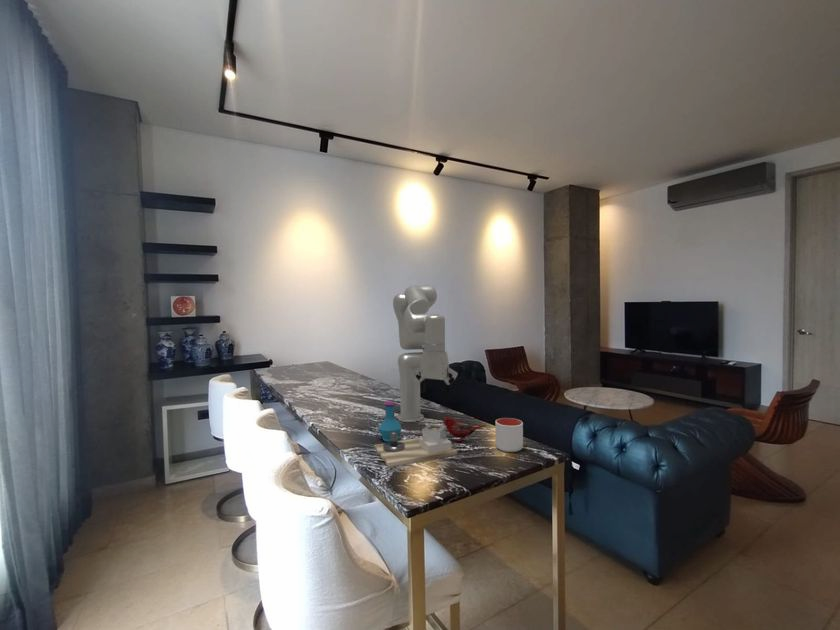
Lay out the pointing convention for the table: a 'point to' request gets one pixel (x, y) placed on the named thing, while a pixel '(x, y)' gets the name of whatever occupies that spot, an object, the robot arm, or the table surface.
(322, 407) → the table surface
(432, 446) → the block
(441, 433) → the steel collar
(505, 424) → the cup
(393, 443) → the rod stand
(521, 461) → the table surface
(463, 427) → the decorative bird figurine
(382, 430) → the perfume bottle
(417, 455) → the board
